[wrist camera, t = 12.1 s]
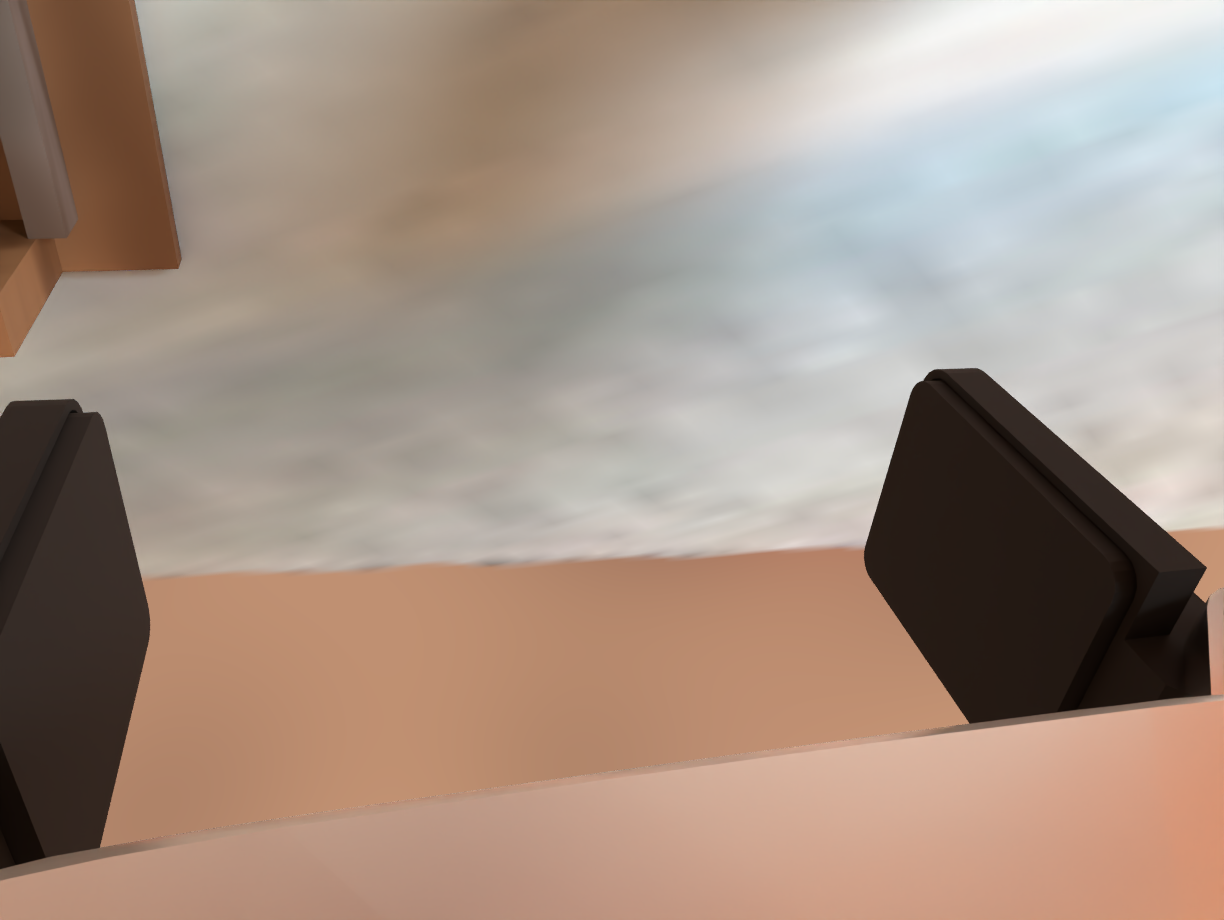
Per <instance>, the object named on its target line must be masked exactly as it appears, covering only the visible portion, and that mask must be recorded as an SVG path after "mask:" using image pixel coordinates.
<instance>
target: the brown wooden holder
mask: <svg viewBox="0 0 1224 920" xmlns="http://www.w3.org/2000/svg"><path fill="white" fill-rule="evenodd" d="M180 262H181V254H180V248H179V243H178V237H177V232H176V226H175V221H174V215H173V210H172V204H171V199H170V193H169V188H168V182H167V177H166V171H165V166H164V160H163V155H162V149H161V144H160V138H159V133H158V127H157V122H156V116H155V111H154V105H153V100H152V95H151V89H150V84H149V78H148V73H147V67H146V62H145V56H144V51H143V45H142V40H141V34H140V29H139V23H138V18H137V12H136V7H135V1H134V0H0V357H15V355H16V353H17V351H18V349H19V348H20V346H21V344H22V342H23V341H24V339H25V337H26V335H27V334H28V332H29V330H30V328H31V327H32V325H33V323H34V321H35V320H36V318H37V316H38V314H39V312H40V311H41V309H42V307H43V305H44V304H45V302H46V300H47V298H48V297H49V295H50V293H51V291H52V290H53V288H54V286H55V284H56V283H57V281H58V279H59V277H60V275H61V274H62V272H70V271H110V270H150V269H179V265H180Z"/></svg>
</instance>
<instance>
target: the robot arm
mask: <svg viewBox="0 0 1224 920" xmlns="http://www.w3.org/2000/svg"><path fill="white" fill-rule="evenodd" d="M864 561H865V567H866V570H867V573H868V575H869V577H870V578H871V580H872V581H873V583H874V584H875V585H876V587H877V588H878V590H879V592H880V593H881V594H882V596H883V597H884V599H885V600H886V602H887V603H888V605H889V606H890V608H891V609H892V611H893V612H894V613H895V615H896V616H897V618H898V619H899V621H900V622H901V624H902V625H903V627H904V628H905V629H906V631H907V632H908V634H909V635H910V637H911V638H912V640H913V641H914V643H915V644H916V646H917V647H918V648H919V650H920V651H921V653H922V654H923V656H924V657H925V659H926V660H927V662H928V663H929V665H930V666H931V667H932V669H933V671H934V672H935V673H936V675H937V676H938V678H939V679H940V681H941V682H942V683H943V685H944V687H945V688H946V690H947V691H948V692H949V694H950V695H951V697H952V698H953V700H954V701H955V703H956V704H957V706H958V707H959V709H960V710H961V711H962V713H963V714H964V716H965V717H966V719H967V720H968V722H969V723H970V724H965V725H956V726H949V727H941V728H933V729H926V730H918V731H910V732H902V733H894V734H886V735H879V736H872V737H864V738H856V739H849V740H842V741H834V742H827V743H819V744H811V745H804V746H796V747H789V748H781V749H774V750H767V751H759V752H751V753H744V754H736V755H729V756H722V757H714V758H707V759H700V760H692V761H685V762H678V763H670V764H663V765H655V766H648V767H640V768H633V769H626V770H618V771H611V772H604V773H596V774H590V775H582V776H575V777H568V778H561V779H554V780H546V781H540V782H532V783H525V784H518V785H511V786H504V787H497V788H489V789H482V790H476V791H468V792H462V793H454V794H447V795H440V796H432V797H425V798H418V799H411V800H404V801H397V802H389V803H382V804H375V805H368V806H361V807H354V808H347V809H339V810H333V811H326V812H320V813H313V814H307V815H299V816H292V817H286V818H279V819H273V820H266V821H259V822H252V823H246V824H239V825H232V826H226V827H219V828H213V829H206V830H201V831H194V832H189V833H183V834H176V835H170V836H164V837H158V838H152V839H147V840H141V841H136V842H130V843H124V844H119V845H113V846H108V847H102V848H100V844H101V840H102V836H103V832H104V827H105V823H106V819H107V815H108V810H109V806H110V802H111V797H112V793H113V789H114V785H115V781H116V777H117V773H118V769H119V764H120V760H121V756H122V752H123V747H124V743H125V739H126V735H127V731H128V726H129V722H130V718H131V713H132V710H133V705H134V701H135V697H136V693H137V688H138V684H139V680H140V675H141V672H142V668H143V663H144V659H145V655H146V651H147V647H148V642H149V635H150V616H149V608H148V603H147V599H146V595H145V591H144V587H143V582H142V578H141V574H140V570H139V566H138V562H137V557H136V553H135V549H134V545H133V541H132V537H131V532H130V528H129V524H128V520H127V516H126V512H125V507H124V503H123V499H122V495H121V491H120V487H119V483H118V478H117V474H116V470H115V466H114V462H113V458H112V453H111V449H110V445H109V441H108V437H107V433H106V428H105V425H104V422H103V419H102V417H101V415H100V414H99V413H98V412H89V413H83V411H82V409H81V407H80V405H79V403H78V402H77V401H76V400H75V399H63V400H34V401H13V402H10V403H9V405H8V406H7V407H6V409H5V410H4V412H3V414H2V416H1V417H0V920H1224V588H1220V589H1218V590H1217V591H1216V592H1214V593H1213V594H1211V595H1210V596H1209V598H1208V600H1207V602H1206V603H1205V602H1203V601H1202V600H1201V599H1200V598H1199V597H1198V596H1197V595H1196V594H1195V593H1194V590H1195V588H1196V586H1197V585H1198V583H1199V581H1200V579H1201V578H1202V576H1203V574H1204V572H1205V570H1206V569H1207V567H1206V566H1204V565H1203V564H1202V563H1201V562H1200V561H1199V560H1198V559H1196V558H1195V557H1194V556H1193V555H1192V554H1191V553H1190V552H1188V551H1187V550H1186V549H1185V548H1184V547H1183V546H1182V545H1181V544H1179V543H1178V542H1177V541H1176V540H1175V539H1174V538H1173V537H1171V536H1170V535H1169V534H1168V533H1167V532H1166V531H1165V530H1164V529H1162V528H1161V527H1160V526H1159V525H1158V524H1157V523H1156V522H1154V521H1153V520H1152V519H1151V518H1150V517H1149V516H1148V515H1146V514H1145V513H1144V512H1143V511H1142V510H1141V509H1140V508H1138V507H1137V506H1136V505H1135V504H1134V503H1133V502H1132V501H1131V500H1129V499H1128V498H1127V497H1126V496H1125V495H1124V494H1123V493H1121V492H1120V491H1119V490H1118V489H1117V488H1116V487H1115V486H1113V485H1112V484H1111V483H1110V482H1109V481H1108V480H1107V479H1105V478H1104V477H1103V476H1102V475H1101V474H1100V473H1099V472H1098V471H1096V470H1095V469H1094V468H1093V467H1092V466H1091V465H1090V464H1088V463H1087V462H1086V461H1085V460H1084V459H1083V458H1082V457H1080V456H1079V455H1078V454H1077V453H1076V452H1075V451H1074V450H1073V449H1071V448H1070V447H1069V446H1068V445H1067V444H1066V443H1065V442H1063V441H1062V440H1061V439H1060V438H1059V437H1058V436H1057V435H1055V434H1054V433H1053V432H1052V431H1051V430H1050V429H1049V428H1047V427H1046V426H1045V425H1044V424H1043V423H1042V422H1041V421H1040V420H1038V419H1037V418H1036V417H1035V416H1034V415H1033V414H1032V413H1030V412H1029V411H1028V410H1027V409H1026V408H1025V407H1024V406H1022V405H1021V404H1020V403H1019V402H1018V401H1017V400H1016V399H1014V398H1013V397H1012V396H1011V395H1010V394H1009V393H1008V392H1007V391H1005V390H1004V389H1003V388H1002V387H1001V386H1000V385H999V384H997V383H996V382H995V381H994V380H993V379H992V378H991V377H989V376H988V375H987V374H986V373H985V372H984V371H982V370H980V369H978V368H965V369H936V370H933V371H931V372H929V373H928V375H927V376H926V377H925V378H924V381H921V382H919V383H917V384H916V385H915V386H914V388H913V390H912V392H911V394H910V398H909V401H908V405H907V408H906V411H905V415H904V418H903V421H902V425H901V428H900V431H899V435H898V438H897V442H896V445H895V448H894V452H893V455H892V458H891V462H890V465H889V468H888V472H887V475H886V478H885V482H884V485H883V489H882V492H881V495H880V499H879V502H878V505H877V509H876V512H875V515H874V519H873V522H872V526H871V529H870V532H869V536H868V539H867V542H866V546H865V551H864Z"/></svg>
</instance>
